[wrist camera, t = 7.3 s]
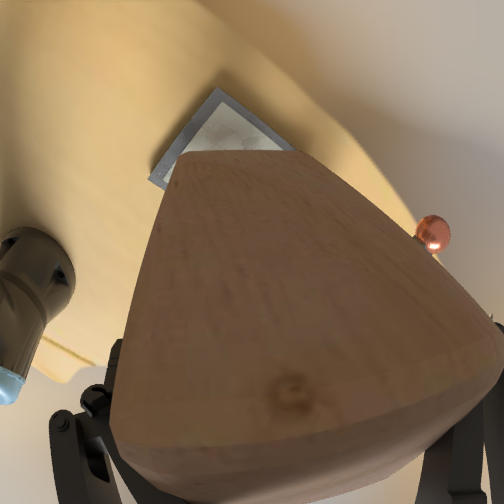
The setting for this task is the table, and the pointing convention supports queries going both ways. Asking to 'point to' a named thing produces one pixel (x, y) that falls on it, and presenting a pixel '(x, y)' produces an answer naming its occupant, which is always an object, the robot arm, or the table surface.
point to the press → (218, 134)
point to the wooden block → (288, 338)
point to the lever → (432, 234)
